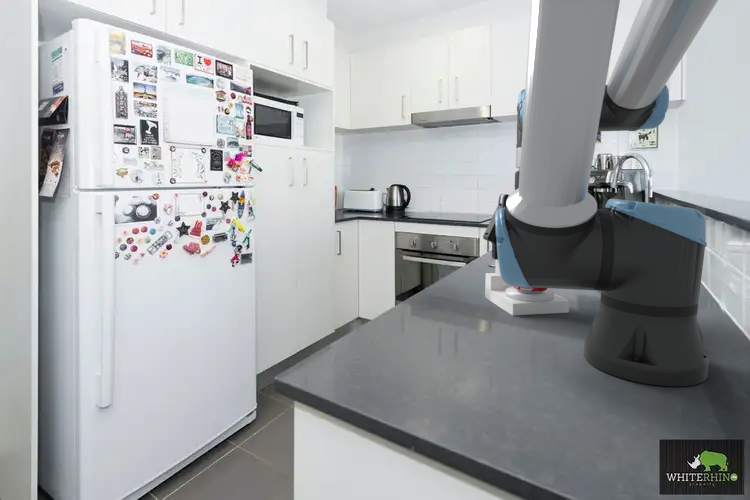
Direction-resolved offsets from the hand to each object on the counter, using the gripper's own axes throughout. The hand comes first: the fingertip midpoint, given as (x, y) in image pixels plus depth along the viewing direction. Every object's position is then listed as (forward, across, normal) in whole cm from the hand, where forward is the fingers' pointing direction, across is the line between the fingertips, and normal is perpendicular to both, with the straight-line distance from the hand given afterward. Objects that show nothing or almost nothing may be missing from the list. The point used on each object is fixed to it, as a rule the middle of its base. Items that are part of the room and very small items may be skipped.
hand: (530, 273), depth 90 cm
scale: (+7, 0, -2) cm, 7 cm away
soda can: (+4, 0, 0) cm, 4 cm away
